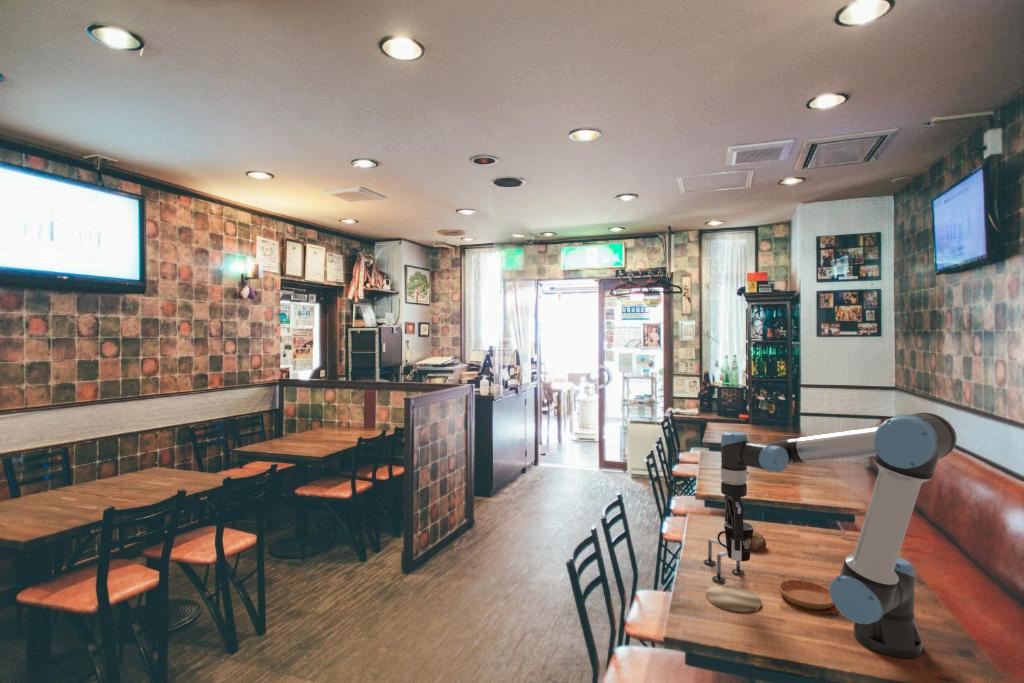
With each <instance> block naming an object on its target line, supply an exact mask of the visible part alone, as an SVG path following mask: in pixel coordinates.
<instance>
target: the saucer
mask: <svg viewBox="0 0 1024 683" xmlns="http://www.w3.org/2000/svg"><path fill="white" fill-rule="evenodd" d="M778 591H779V593H780V594H781V595H782V596H783V597H784V598H785V600H787V601H788V602H789V601H790V602H789V603H791V604H793V603H794V604H793V605H795V604H796V605H795V606H797V605H798V606H797V607H800V606H801V607H800V608H803V607H804V608H803V609H807V608H809V610H813V609H816V611H823V610H822V609H824V610H827V608H828V609H829V608H831V607H833V606H835V604H834V602H833V601H832V599H831V597H830V592H829V588H828V587H826V586H824V585H822V584H819V583H816V582H812V581H810V580H809V581H808V580H804V579H787V580H782V581H781V582H780V583H778Z"/></svg>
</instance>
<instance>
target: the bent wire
mask: <svg viewBox="0 0 1024 683" xmlns="http://www.w3.org/2000/svg"><path fill="white" fill-rule="evenodd" d="M707 542H708V545H707V546H708V547H707V551H708V552H707V554H708V555H707V559H704V560H703V563H704V564H705V565H706V564H707V565H706V566H710V565H714V566H716V575H714V576H712V579H711V580H712V581H713V582H714V583H716V582H718V583H717V584H724V582H726V579H725V577H723V576H721V575H722V574H721V571H722V568H721V567H722V557H725V556H728V553H727V551H726V550H724V551H722V552H718V553H717V555H716V561H715V560H713V557H712V556H713V555H712V554H713V552H712V551H713V549H712V548H713V547H712V546H713V544H716V545H719V546H722V545H721V544H720V543H719V542H718V539H714V538H712V537H711V538H709V539H708V540H707ZM720 542H721V543H722V544H723V545H725V546H726V542H724V541H721V540H720ZM722 547H723V546H722ZM735 562H736V564H735V566H736V568H735V569H732V570H731V574H733V575H734V574H735V575H734V576H737V575H743V576H745V571H744V570H742V569H741V561H736V560H735Z"/></svg>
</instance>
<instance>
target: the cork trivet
mask: <svg viewBox="0 0 1024 683" xmlns="http://www.w3.org/2000/svg"><path fill="white" fill-rule="evenodd" d="M705 593H706V594H705V595H706V596H705V597H706V599H707V601H708V602H710V603H711V604H712V603H713V604H712V605H714V606H715V607H718V608H720V609H722V610H725V609H726V611H729V612H732V613H733V612H735V613H743V614H744V613H747V612H748V613H754V612H757V611H759V610H760V609H761V608H762V599H761V597H759V595H757V594H756V593H755V592H753V591H751V590H748V589H745V588H742V587H739V586H735V585H729V584H720V585H719V584H718V585H717V584H716V585H713V586H710V587H708V588H707V589H706V592H705ZM760 607H761V608H760ZM759 608H760V609H759ZM758 609H759V610H758ZM756 610H757V611H756ZM753 611H754V612H753Z"/></svg>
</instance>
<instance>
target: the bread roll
mask: <svg viewBox="0 0 1024 683" xmlns="http://www.w3.org/2000/svg"><path fill="white" fill-rule="evenodd" d="M766 548H767V542H766V539H765V538H764V536H763V535H762V534H761V533H759V532H757V531H754V530H753V538H752V546H751V552H755V551H760V552H762V551H761V550H763V551H765V550H766ZM764 549H765V550H764Z"/></svg>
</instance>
